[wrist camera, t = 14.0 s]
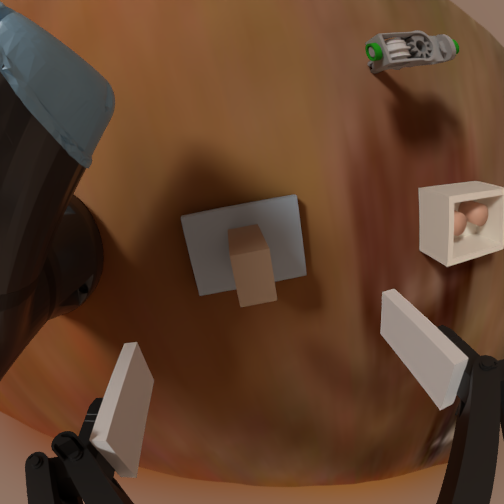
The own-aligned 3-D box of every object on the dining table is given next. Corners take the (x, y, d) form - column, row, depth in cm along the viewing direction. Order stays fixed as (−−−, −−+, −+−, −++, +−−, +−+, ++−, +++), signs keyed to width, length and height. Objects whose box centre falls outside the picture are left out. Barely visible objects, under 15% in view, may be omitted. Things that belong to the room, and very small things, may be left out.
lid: (200, 288, 34) (194, 337, 25) (182, 214, 32) (166, 240, 22) (302, 269, 35) (330, 311, 25) (292, 193, 32) (321, 211, 23)
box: (419, 250, 35) (447, 266, 30) (418, 188, 33) (449, 196, 27) (475, 236, 36) (503, 248, 30) (476, 180, 33) (506, 188, 28)
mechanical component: (411, 74, 28) (465, 59, 19) (338, 86, 29) (382, 65, 19) (403, 51, 27) (454, 30, 18) (329, 61, 28) (369, 32, 18)
